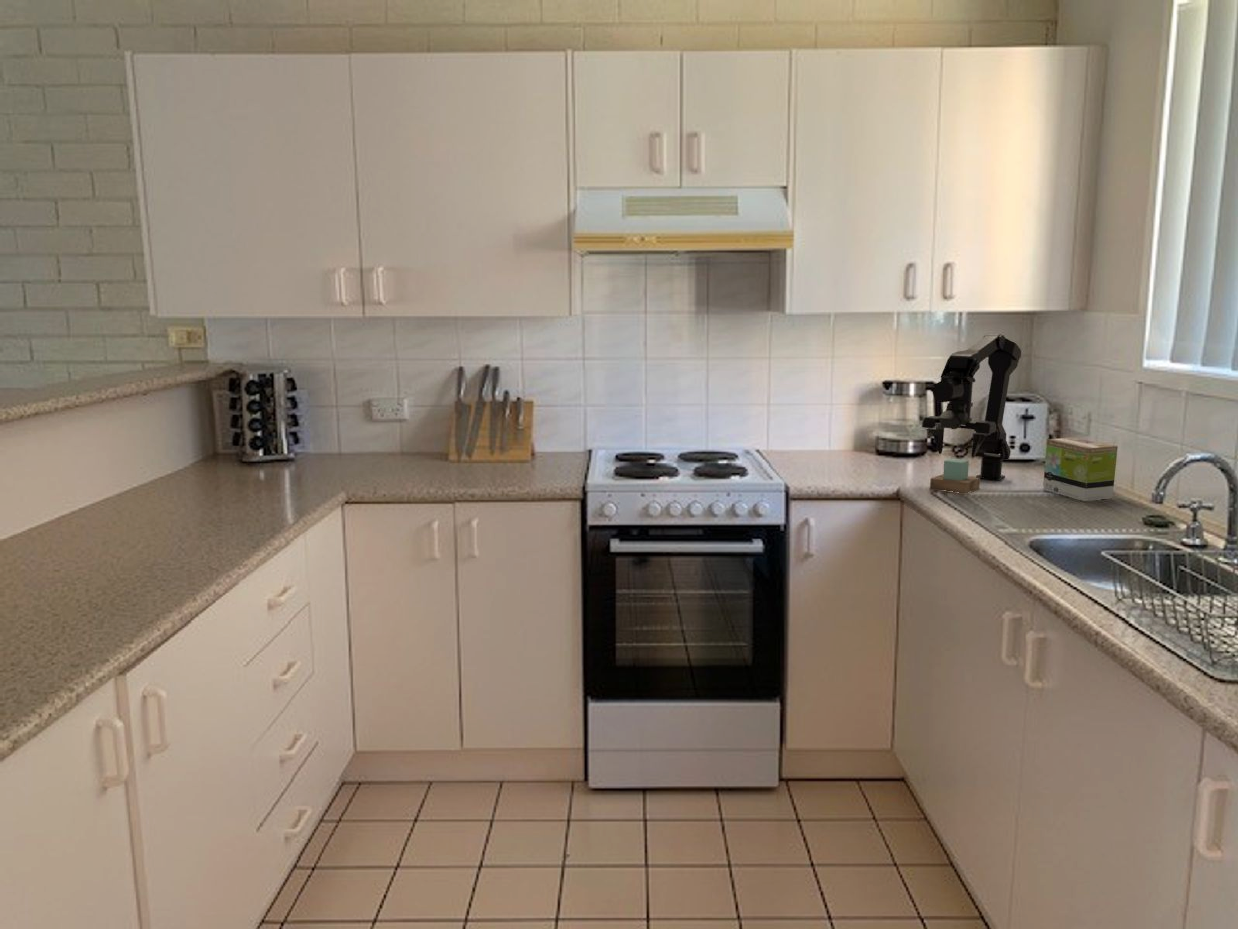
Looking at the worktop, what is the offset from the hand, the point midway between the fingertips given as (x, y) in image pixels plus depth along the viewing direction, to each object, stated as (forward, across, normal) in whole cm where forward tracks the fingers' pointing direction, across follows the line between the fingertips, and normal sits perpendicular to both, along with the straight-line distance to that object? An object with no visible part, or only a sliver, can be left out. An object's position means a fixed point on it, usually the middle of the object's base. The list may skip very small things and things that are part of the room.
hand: (956, 455), depth 256 cm
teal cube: (+6, 0, 0) cm, 6 cm away
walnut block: (+10, 0, 0) cm, 10 cm away
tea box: (+10, +28, +14) cm, 33 cm away
